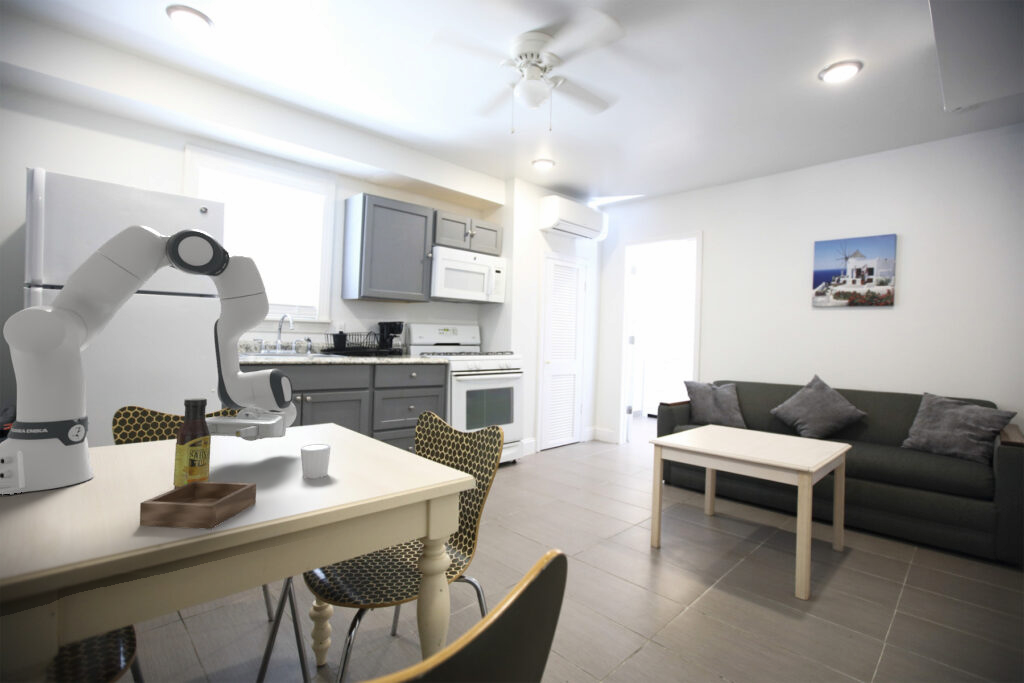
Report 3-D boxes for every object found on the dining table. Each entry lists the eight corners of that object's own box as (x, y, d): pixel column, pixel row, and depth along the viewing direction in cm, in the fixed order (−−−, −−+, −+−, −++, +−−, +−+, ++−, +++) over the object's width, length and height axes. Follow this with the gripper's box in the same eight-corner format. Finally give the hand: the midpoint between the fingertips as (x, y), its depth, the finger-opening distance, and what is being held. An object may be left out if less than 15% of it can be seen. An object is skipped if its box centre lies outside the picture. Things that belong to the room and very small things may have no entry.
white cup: (319, 480, 111) (320, 450, 111) (293, 478, 112) (294, 448, 112) (335, 472, 118) (336, 444, 118) (310, 470, 119) (311, 442, 119)
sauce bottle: (190, 497, 97) (193, 401, 97) (165, 494, 98) (168, 400, 98) (216, 488, 104) (218, 398, 104) (192, 485, 105) (194, 396, 105)
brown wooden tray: (139, 525, 82) (140, 503, 82) (193, 500, 95) (193, 481, 95) (211, 529, 82) (212, 506, 82) (255, 503, 95) (256, 483, 95)
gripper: (216, 409, 124) (176, 417, 110) (291, 412, 123) (261, 421, 109) (215, 433, 124) (175, 444, 110) (291, 436, 123) (260, 448, 109)
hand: (219, 432), depth 110 cm, fingers open, 8 cm apart
